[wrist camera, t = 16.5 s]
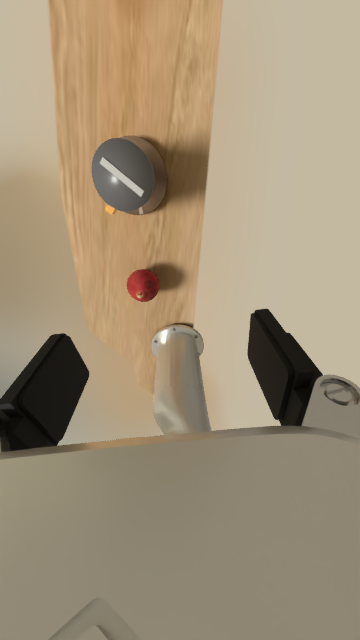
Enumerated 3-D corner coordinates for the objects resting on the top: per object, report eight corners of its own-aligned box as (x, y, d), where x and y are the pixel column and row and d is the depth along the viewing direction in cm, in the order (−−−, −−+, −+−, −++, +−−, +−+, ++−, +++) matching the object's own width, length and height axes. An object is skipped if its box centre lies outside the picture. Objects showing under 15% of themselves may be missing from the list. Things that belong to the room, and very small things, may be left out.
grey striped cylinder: (165, 172, 27) (164, 170, 23) (135, 224, 30) (129, 231, 26) (119, 130, 25) (108, 119, 20) (91, 192, 28) (77, 194, 24)
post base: (171, 209, 34) (171, 213, 30) (115, 217, 34) (107, 222, 30) (161, 132, 29) (159, 124, 24) (94, 143, 29) (81, 136, 25)
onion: (150, 258, 38) (146, 274, 32) (165, 283, 41) (164, 302, 35) (125, 271, 40) (115, 289, 33) (141, 295, 43) (135, 316, 36)
